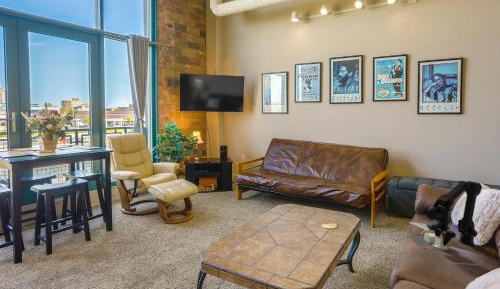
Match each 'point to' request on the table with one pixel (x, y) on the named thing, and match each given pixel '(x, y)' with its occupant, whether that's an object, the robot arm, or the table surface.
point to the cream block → (439, 242)
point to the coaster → (440, 248)
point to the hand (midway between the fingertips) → (440, 243)
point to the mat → (422, 241)
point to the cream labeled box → (429, 237)
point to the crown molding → (421, 226)
